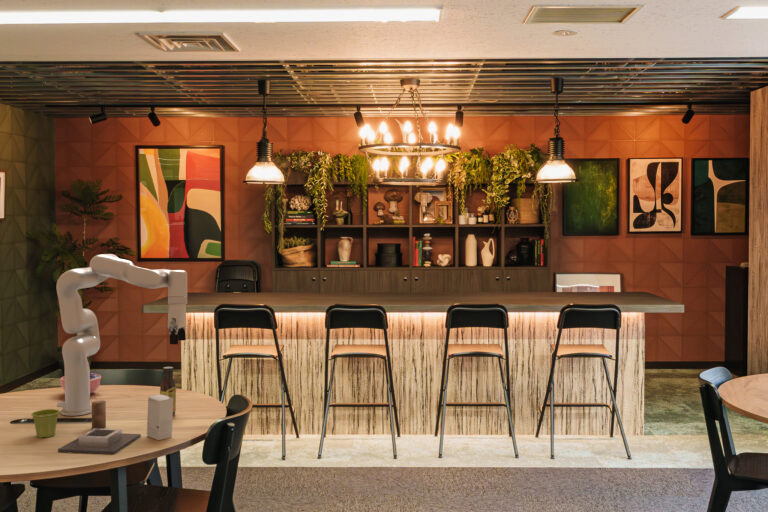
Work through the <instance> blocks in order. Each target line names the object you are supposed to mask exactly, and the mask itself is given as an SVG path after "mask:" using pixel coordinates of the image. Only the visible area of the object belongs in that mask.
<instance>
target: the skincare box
mask: <svg viewBox="0 0 768 512" xmlns="http://www.w3.org/2000/svg"><path fill="white" fill-rule="evenodd" d="M147 398H148V399H147V400H148V401H147V419H146V421H147V423H146V426H147V427H146V436H147V437H149V438H152V439H154V440H157V441H162V440H166V439H170V438H172V437H173V417H174V416H173V398H170V397H168V396H164V395H160V394H157V395H156V394H155V395H150V396H148V397H147Z"/></svg>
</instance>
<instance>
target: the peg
mask: <svg viewBox="0 0 768 512" xmlns="http://www.w3.org/2000/svg"><path fill="white" fill-rule="evenodd" d="M106 404H107V401H106V400H100V399H99V400H94V401H91V406H92V412H91V430H92V429H94V428H101V429H107V424H106V423H107V420H106V419H107V412H106V411H107V410H106V409H107V405H106Z"/></svg>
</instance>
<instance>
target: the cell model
mask: <svg viewBox="0 0 768 512" xmlns="http://www.w3.org/2000/svg"><path fill="white" fill-rule="evenodd" d="M101 378H102V376H101V374H98V373H96V372H90V395H91V394H93V393H95V392H96V391H97V390H98V389H99V387H100V385H101ZM60 386H61V387H62V389H63V391H64V392H65V375H64V376H62V377H60Z"/></svg>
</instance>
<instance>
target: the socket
mask: <svg viewBox="0 0 768 512" xmlns="http://www.w3.org/2000/svg"><path fill="white" fill-rule="evenodd" d="M141 437H142V436H141V433H123V429H121V428H104V429H101V428H94V429H92V428H91V429H90V430H88V431H87V432H85V433H83V434H82V435H79V436H78V437H77V438H75V439H74V440H72V441H70V442H69V443H67V444H65V445H63V446H61V447H60V448H58V449H57V453H68V452H71V453H72V454H73V453H74V454H95V455H96V454H97V455H115V454H117V453H118V452H120V451H121V450H123V449H124V448H126V447H128V446H129V445H131V444H132V443H133V442H135V441H137V440H138V439H140V438H141Z"/></svg>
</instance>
